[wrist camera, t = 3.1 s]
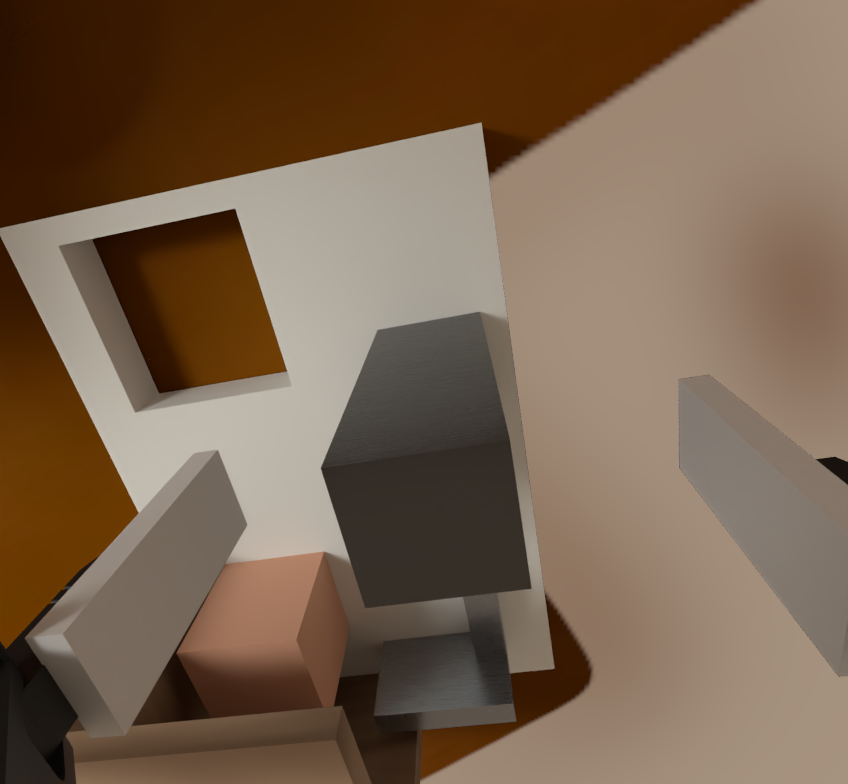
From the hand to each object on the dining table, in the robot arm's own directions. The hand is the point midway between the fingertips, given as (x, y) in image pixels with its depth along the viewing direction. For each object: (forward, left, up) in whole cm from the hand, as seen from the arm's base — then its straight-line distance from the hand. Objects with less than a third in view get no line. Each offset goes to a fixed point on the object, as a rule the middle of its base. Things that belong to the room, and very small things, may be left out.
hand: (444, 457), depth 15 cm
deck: (+4, -6, -9) cm, 11 cm away
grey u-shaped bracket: (+7, -2, -7) cm, 9 cm away
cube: (+10, -10, -7) cm, 16 cm away
